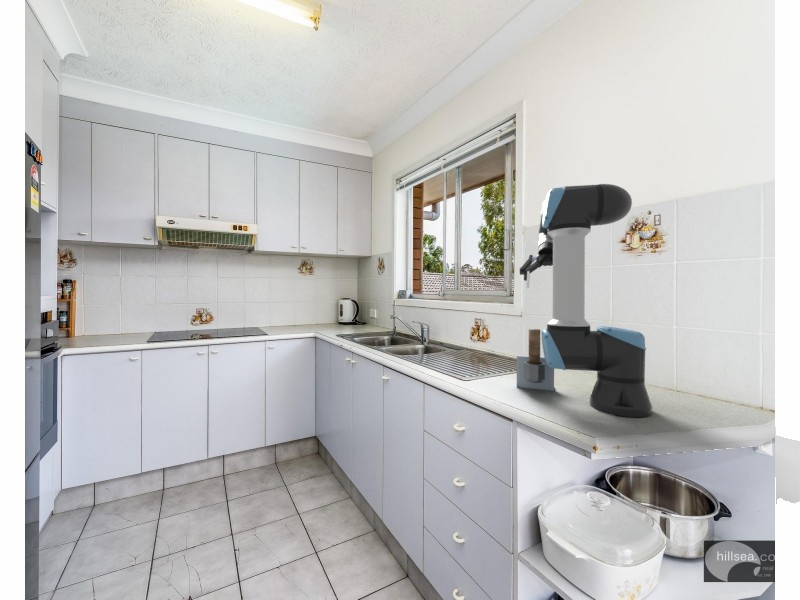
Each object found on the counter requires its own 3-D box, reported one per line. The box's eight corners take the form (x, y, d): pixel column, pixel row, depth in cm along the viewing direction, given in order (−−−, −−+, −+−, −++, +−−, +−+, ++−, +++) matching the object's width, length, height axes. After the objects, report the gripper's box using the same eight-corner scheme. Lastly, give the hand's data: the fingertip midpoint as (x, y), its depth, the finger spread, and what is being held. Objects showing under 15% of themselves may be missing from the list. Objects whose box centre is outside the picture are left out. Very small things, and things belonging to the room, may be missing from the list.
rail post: (542, 378, 116) (542, 329, 116) (533, 379, 115) (534, 330, 114) (534, 376, 119) (534, 328, 119) (526, 377, 118) (526, 329, 118)
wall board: (518, 383, 129) (518, 353, 128) (554, 387, 124) (554, 355, 124) (516, 387, 124) (516, 355, 124) (553, 390, 119) (554, 358, 119)
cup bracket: (525, 376, 123) (525, 359, 123) (545, 377, 120) (545, 360, 120) (523, 381, 115) (523, 363, 115) (544, 383, 113) (544, 365, 112)
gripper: (582, 254, 141) (584, 292, 127) (516, 257, 151) (512, 292, 137) (583, 239, 136) (586, 277, 122) (515, 243, 146) (511, 278, 132)
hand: (547, 285), depth 130 cm, fingers open, 13 cm apart
